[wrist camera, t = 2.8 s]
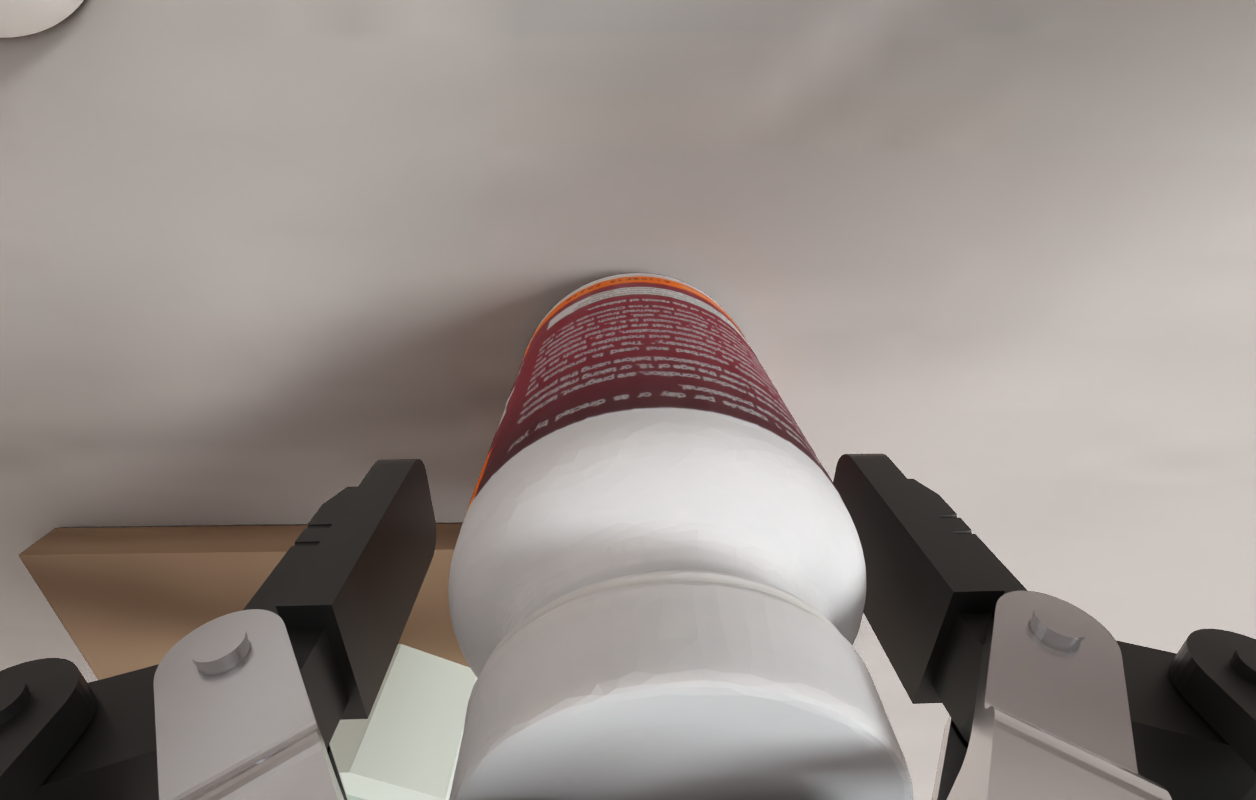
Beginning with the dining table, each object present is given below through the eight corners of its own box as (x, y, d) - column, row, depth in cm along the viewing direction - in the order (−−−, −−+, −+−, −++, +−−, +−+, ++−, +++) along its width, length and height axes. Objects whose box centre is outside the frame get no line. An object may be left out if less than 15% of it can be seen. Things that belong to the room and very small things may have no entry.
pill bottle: (484, 316, 14) (206, 731, 4) (709, 230, 14) (974, 508, 4) (576, 495, 17) (528, 1005, 7) (769, 433, 16) (1016, 910, 6)
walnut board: (55, 527, 17) (18, 555, 16) (633, 521, 17) (635, 547, 16) (236, 837, 25) (220, 869, 24) (629, 827, 25) (629, 857, 24)
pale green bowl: (204, 647, 18) (102, 778, 14) (513, 642, 18) (489, 769, 14) (287, 817, 22) (225, 949, 19) (534, 810, 23) (519, 939, 19)
